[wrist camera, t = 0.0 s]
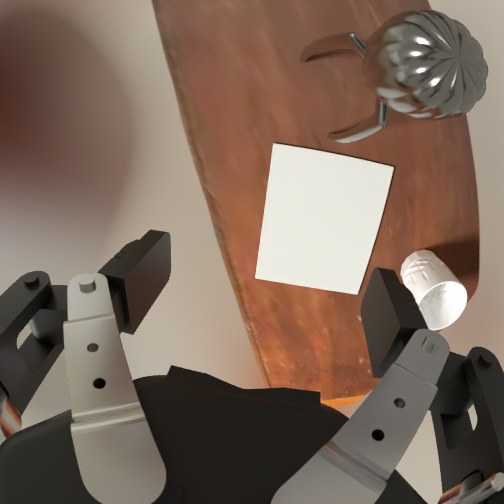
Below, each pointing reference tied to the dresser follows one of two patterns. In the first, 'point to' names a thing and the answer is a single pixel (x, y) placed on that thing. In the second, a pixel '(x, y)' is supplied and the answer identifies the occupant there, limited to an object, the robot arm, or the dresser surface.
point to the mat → (320, 218)
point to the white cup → (434, 288)
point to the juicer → (414, 68)
